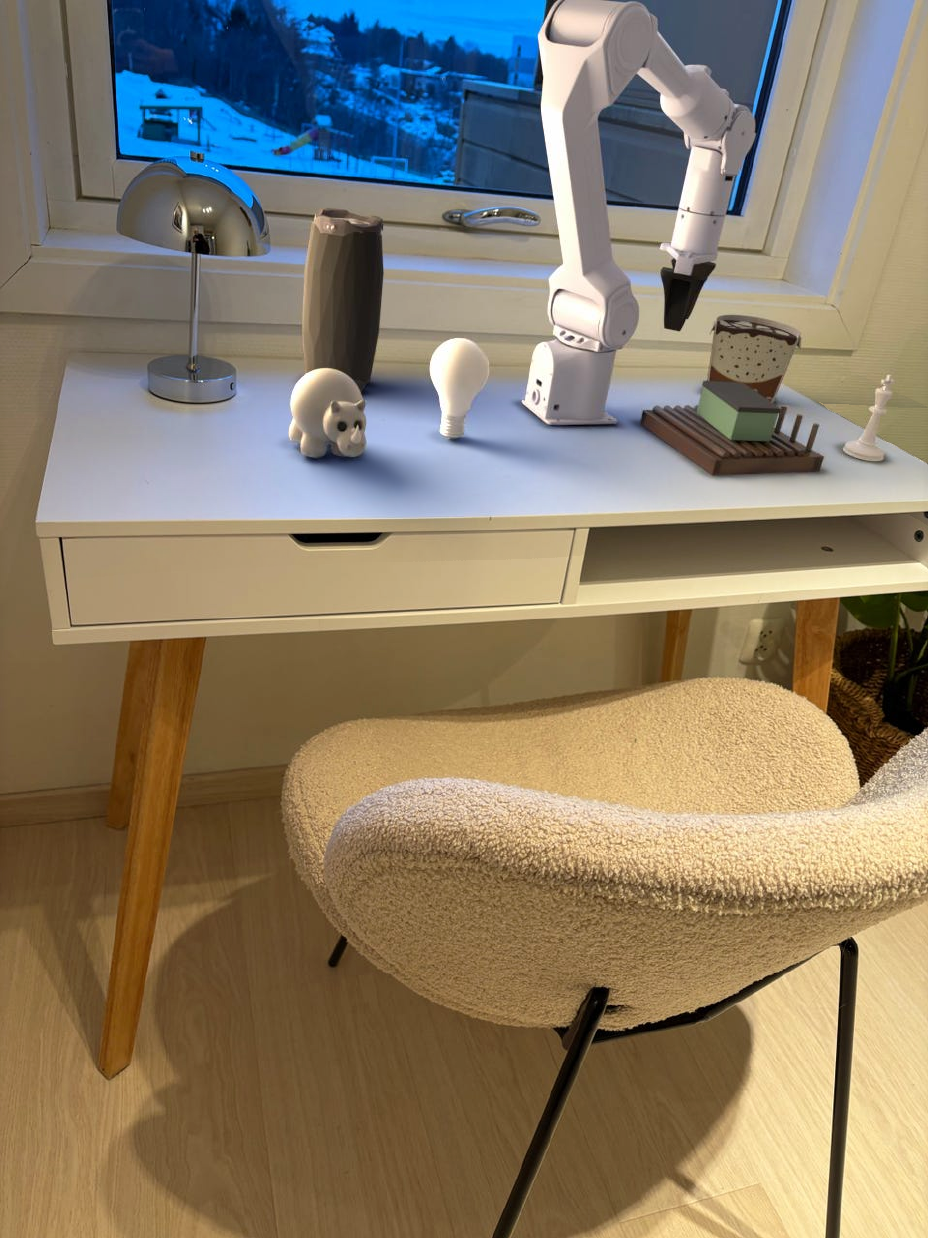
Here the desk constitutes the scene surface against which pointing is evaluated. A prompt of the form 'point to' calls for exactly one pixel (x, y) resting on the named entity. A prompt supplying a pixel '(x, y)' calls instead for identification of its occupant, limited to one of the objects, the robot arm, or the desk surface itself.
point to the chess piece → (871, 427)
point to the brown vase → (343, 293)
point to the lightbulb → (458, 381)
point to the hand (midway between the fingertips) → (676, 323)
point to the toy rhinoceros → (328, 414)
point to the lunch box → (737, 411)
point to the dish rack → (732, 443)
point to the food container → (752, 352)
